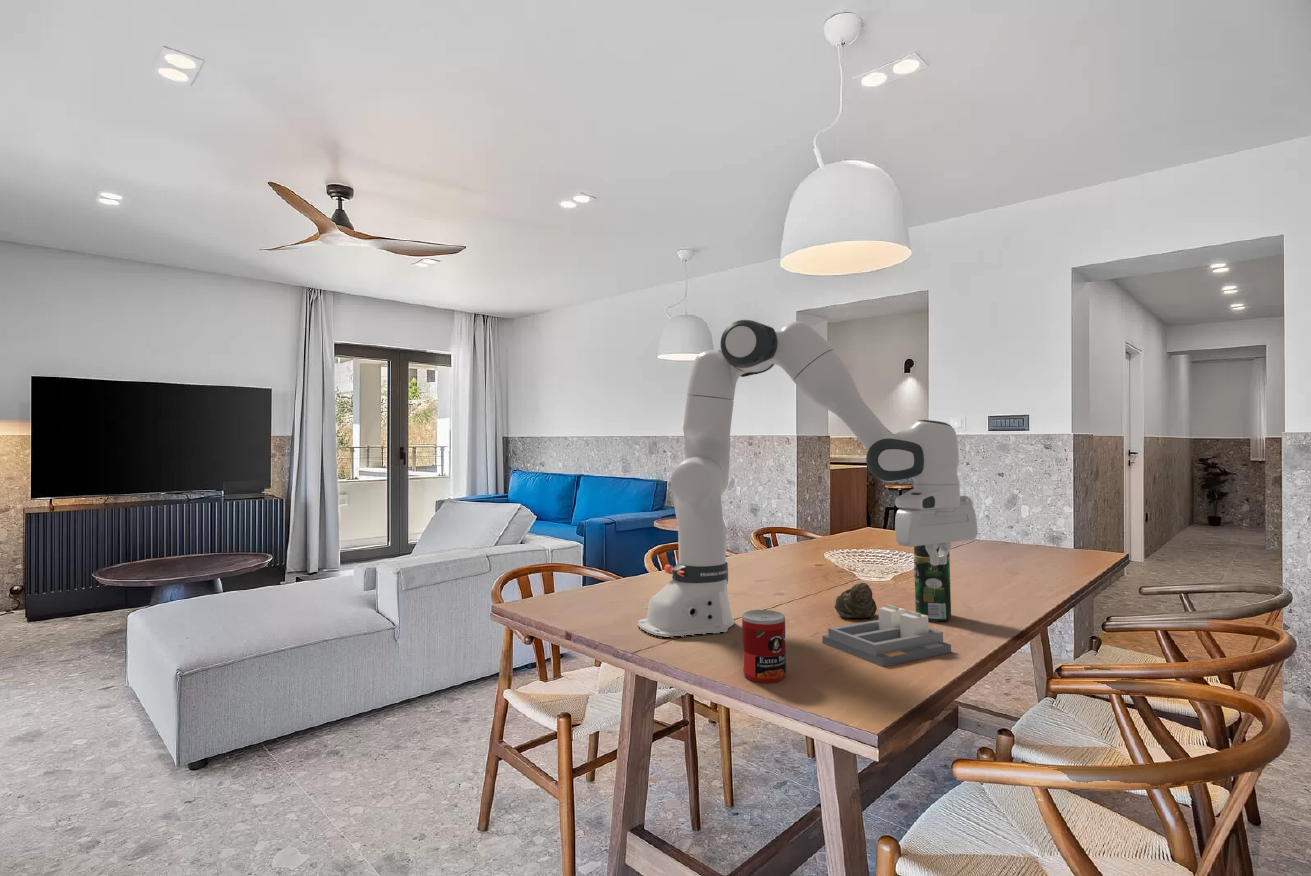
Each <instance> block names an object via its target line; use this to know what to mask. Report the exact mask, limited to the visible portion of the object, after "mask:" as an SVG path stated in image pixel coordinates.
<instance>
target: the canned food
mask: <svg viewBox="0 0 1311 876" xmlns="http://www.w3.org/2000/svg"><path fill="white" fill-rule="evenodd" d="M785 618H786V617H785V614H783V613H782V612H780V611H775V610H769V609H754V610H752V609H751V610H748V611H745V612H743V613H742V622H741V623H742V624H741V626H742V629H741V630H742V632H741V633H742V670H743V674H744V677H745V678H746V679H747V680H749V681H752V682H754V683H762V684H771V683H772V684H774V683H778V682H781V681H783V680H784V679H785V677H786V673H787V660H786V659H787V658H786V657H787V656H786V655H787V654H786V653H787V651H786V649H787V647H786V619H785Z"/></svg>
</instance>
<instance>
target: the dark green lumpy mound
mask: <svg viewBox="0 0 1311 876" xmlns="http://www.w3.org/2000/svg"><path fill="white" fill-rule="evenodd" d="M834 609H835V610H836V612H837V614H838V615H839V616H840V617H842V618H845V619H856V618H860V619H865V618H867V619H873V617H874V616H875V614H876V612H877V611H878V609H877V603H876V600H875V599H874V598H873V591H872V588H870V586H869V584H867V583H866V582H860V583H857V584H856V583H855V584H854V585H852V586H851V588H849V589H846V590H844V591H842V593H840V594H839V595H838V596H837V597H836V599H835V605H834Z"/></svg>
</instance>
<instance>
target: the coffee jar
mask: <svg viewBox="0 0 1311 876" xmlns="http://www.w3.org/2000/svg"><path fill="white" fill-rule="evenodd" d="M913 548H914V549H913V550H914V551H913V553H914V554H913V570H914V571H913V572H914V573H913V574H914V575H913V576H914V593H915V594H914V597H915V599H914V600H915V601H914V602H915V605H914V606H915V612H917V613H921V614H923V615H927V616H928V622H934V623H936V622H942V621H946V622H947V621H949V620H950V619H951V617H952V601H951V600H952V599H951V597H952V596H951V595H952V593H951V563H950V562H951V561H950V552H949V553H948V555H947V564H943V565H936V566H935V565H931V564H930V556H929V554H928V552H927V550H926V549H925V545H921V546H913ZM939 548H940V547H939V546H938V549H936V550H937V553H938V552H939Z"/></svg>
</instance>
